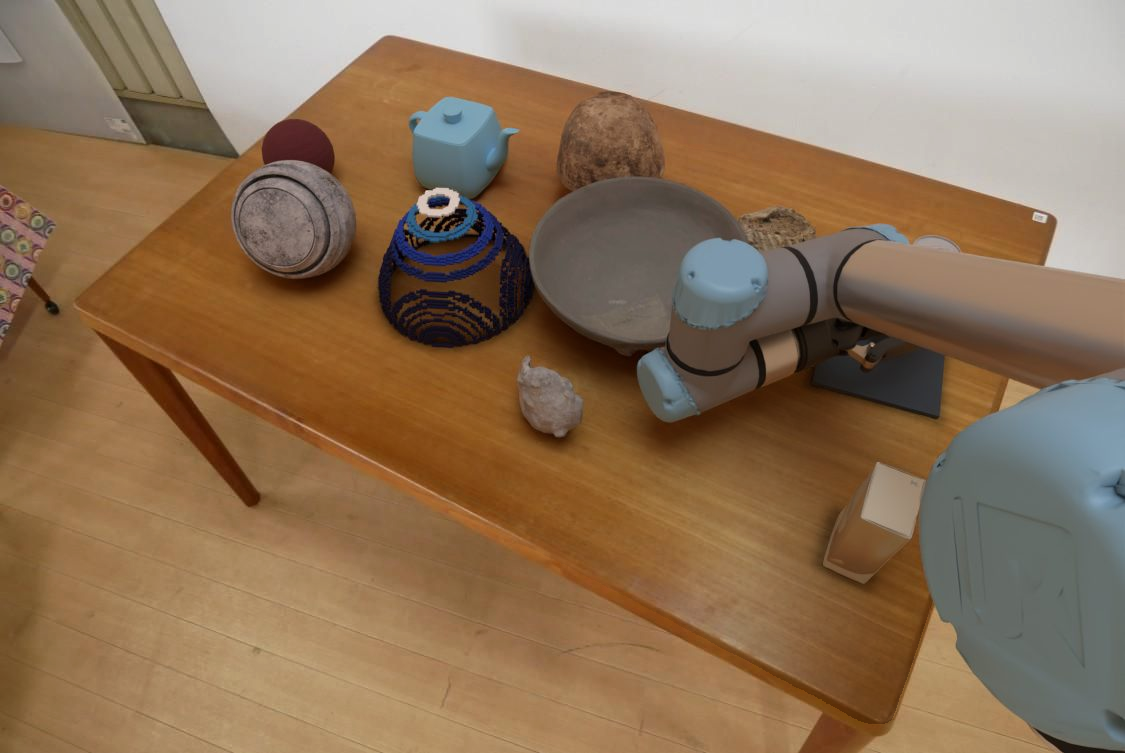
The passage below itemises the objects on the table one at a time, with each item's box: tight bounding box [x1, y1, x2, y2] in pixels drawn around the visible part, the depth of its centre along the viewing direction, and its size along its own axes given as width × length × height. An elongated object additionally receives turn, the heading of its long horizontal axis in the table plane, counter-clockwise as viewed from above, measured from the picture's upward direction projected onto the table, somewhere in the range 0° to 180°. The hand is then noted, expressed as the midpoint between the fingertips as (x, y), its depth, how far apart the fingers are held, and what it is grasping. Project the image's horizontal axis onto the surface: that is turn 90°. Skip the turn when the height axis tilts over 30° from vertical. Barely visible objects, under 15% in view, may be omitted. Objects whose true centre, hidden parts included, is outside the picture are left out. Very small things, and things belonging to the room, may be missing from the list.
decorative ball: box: [261, 118, 336, 175], centre depth 101 cm, size 10×10×10 cm
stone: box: [516, 355, 584, 438], centre depth 75 cm, size 9×7×10 cm
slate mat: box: [810, 335, 946, 420], centre depth 85 cm, size 20×14×1 cm
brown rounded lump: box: [555, 90, 666, 192], centre depth 96 cm, size 15×16×15 cm
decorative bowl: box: [377, 188, 535, 349], centre depth 86 cm, size 20×20×14 cm
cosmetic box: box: [822, 461, 926, 585], centre depth 64 cm, size 6×4×12 cm
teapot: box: [408, 96, 520, 200], centre depth 100 cm, size 12×18×12 cm
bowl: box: [528, 177, 750, 357], centre depth 85 cm, size 26×26×10 cm
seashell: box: [737, 205, 819, 253], centre depth 91 cm, size 11×7×10 cm
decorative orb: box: [230, 160, 357, 280], centre depth 90 cm, size 15×14×15 cm
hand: (954, 272), depth 78 cm, fingers closed on beverage can, 6 cm apart
